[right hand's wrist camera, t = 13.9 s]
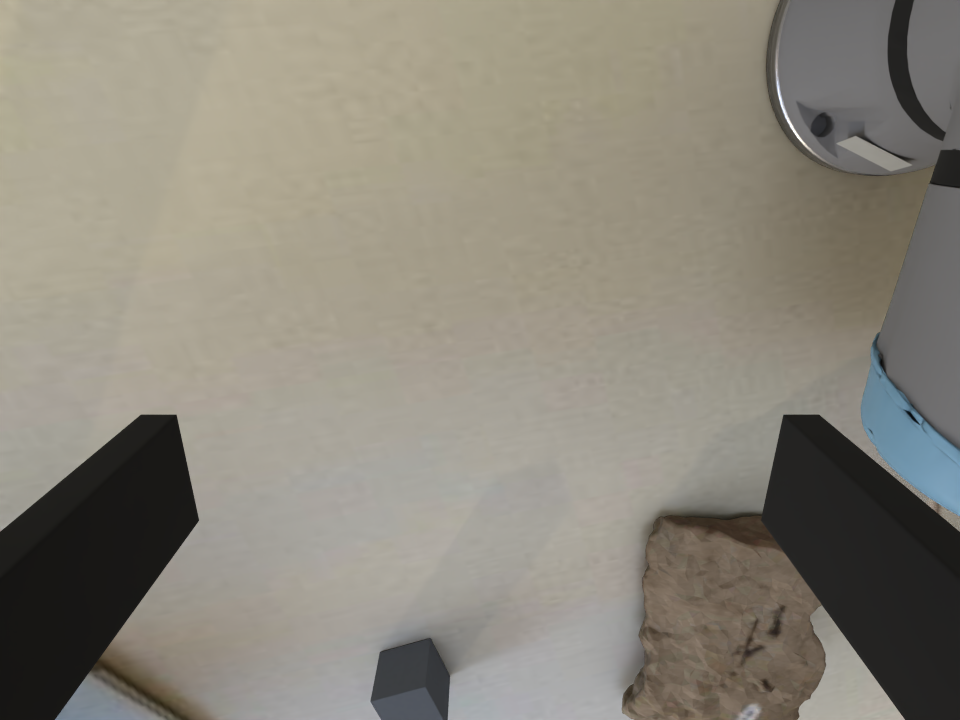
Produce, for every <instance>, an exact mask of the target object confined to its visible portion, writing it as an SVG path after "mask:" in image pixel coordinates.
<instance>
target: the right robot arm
mask: <svg viewBox="0 0 960 720" xmlns="http://www.w3.org/2000/svg"><path fill="white" fill-rule="evenodd" d="M766 71H767V84H768V90H769V96H770V100H771V104H772V107H773V110H774V112H775V115H776V118H777V120H778V122H779V124H780V126H781V128H782V129H783V131H784V132H785V134H786V135H787V137H788V138H789V139H790V141H791V142H792V143H793V144H794V145H795V146H796V147H797V148H798V149H799V150H800V151H801V152H802V153H803V154H805V155H806V156H807V157H809V158H810V159H812V160H813V161H815V162H817V163H819V164H820V165H823V166H825V167H827V168H830V169H833V170H836V171H840V172H845V173H851V174H859V175H870V176H885V175H895V174H901V173H907V172H913V171H917V170H921V169H924V168H927V167H930V166H933V165H936V166H935V169H934V172H933V175H932V179H931V181H930V183H929V185H928V188H927V191H926V194H925V197H924V200H923V203H922V206H921V210H920V213H919V216H918V219H917V222H916V225H915V228H914V231H913V234H912V238H911V241H910V244H909V247H908V250H907V253H906V256H905V259H904V262H903V266H902V269H901V272H900V275H899V278H898V281H897V284H896V287H895V290H894V294H893V297H892V300H891V303H890V306H889V309H888V311H887V314H886V317H885V320H884V323H883V326H882V329H881V332H879V333H877V335H876V337H875V339H874V341H873V344H872V347H871V366H870V371H869V375H868V379H867V383H866V387H865V391H864V394H863V398H862V403H861V419H862V423H863V427H864V429H865V431H866V433H867V435H868V437H869V439H870V440H871V442H872V443H873V444H874V445H875V446H876V448H877V451H878V453H879V454H880V455H881V457H882V458H883V459H884V460H885V461H886V462H887V463H888V464H889V465H890V466H891V467H892V468H893V469H894V470H895V471H896V472H897V473H898V474H899V475H900V476H901V477H903V478H904V479H905V480H906V481H908V482H909V483H910V484H911V485H912V486H914V487H915V488H916V489H918V490H919V491H920V492H922V493H923V494H925V495H926V496H927V497H929V498H930V499H932V500H934V501H935V502H937V503H938V504H940V505H942V506H943V507H945V508H946V509H948V510H950V511H951V512H953V513H955V514H957V515H958V516H960V0H780V3H779V6H778V8H777V11H776V13H775V17H774V20H773V24H772V27H771V32H770V37H769V42H768V50H767V66H766ZM198 521H199V518H198V513H197V509H196V504H195V499H194V495H193V490H192V485H191V481H190V476H189V471H188V466H187V462H186V457H185V452H184V448H183V443H182V438H181V434H180V429H179V424H178V420H177V415H140V416H139V417H138V418H137V419H135V420H134V421H133V422H132V423H131V424H129V425H128V426H127V427H126V428H125V429H123V430H122V431H121V432H120V433H119V434H117V435H116V436H115V437H114V438H112V439H111V440H110V441H109V442H108V443H106V444H105V445H104V446H103V447H102V448H100V449H99V450H98V451H97V452H96V453H94V454H93V455H92V456H91V457H90V458H88V459H87V460H86V461H85V462H84V463H82V464H81V465H80V466H79V467H78V468H76V469H75V470H74V471H73V472H72V473H70V474H69V475H68V476H67V477H66V478H64V479H63V480H62V481H61V482H60V483H58V484H57V485H56V486H55V487H54V488H52V489H51V490H50V491H49V492H48V493H46V494H45V495H44V496H43V497H42V498H40V499H39V500H38V501H37V502H36V503H34V504H33V505H32V506H31V507H30V508H28V509H27V510H26V511H25V512H24V513H22V514H21V515H20V516H19V517H18V518H16V519H15V520H14V521H13V522H12V523H10V524H9V525H8V526H7V527H6V528H4V529H3V530H2V531H1V532H0V720H55V719H56V717H57V716H58V715H59V713H60V712H61V710H62V709H63V708H64V706H65V705H66V704H67V702H68V701H69V699H70V698H71V697H72V695H73V694H74V693H75V691H76V690H77V688H78V687H79V686H80V684H81V683H82V681H83V680H84V679H85V677H86V676H87V675H88V673H89V672H90V670H91V669H92V668H93V666H94V665H95V664H96V662H97V661H98V659H99V658H100V657H101V655H102V654H103V652H104V651H105V650H106V648H107V647H108V646H109V644H110V643H111V641H112V640H113V639H114V637H115V636H116V635H117V633H118V632H119V630H120V629H121V628H122V626H123V625H124V623H125V622H126V621H127V619H128V618H129V617H130V615H131V614H132V612H133V611H134V610H135V608H136V607H137V606H138V604H139V603H140V601H141V600H142V599H143V597H144V596H145V594H146V593H147V592H148V590H149V589H150V588H151V586H152V585H153V583H154V582H155V581H156V579H157V578H158V577H159V575H160V574H161V572H162V571H163V570H164V568H165V567H166V565H167V564H168V563H169V561H170V560H171V559H172V557H173V556H174V554H175V553H176V552H177V550H178V549H179V548H180V546H181V545H182V543H183V542H184V541H185V539H186V538H187V536H188V535H189V534H190V532H191V531H192V530H193V528H194V527H195V525H196V524H197V523H198ZM761 521H762V523H763V524H764V525H765V527H766V528H767V530H768V531H769V532H770V534H771V535H772V536H773V538H774V539H775V541H776V542H777V543H778V545H779V546H780V548H781V549H782V550H783V552H784V553H785V554H786V556H787V557H788V559H789V560H790V561H791V563H792V564H793V565H794V567H795V568H796V570H797V571H798V572H799V574H800V575H801V577H802V578H803V579H804V581H805V582H806V583H807V585H808V586H809V588H810V589H811V590H812V592H813V593H814V594H815V596H816V597H817V599H818V600H819V601H820V603H821V604H822V606H823V607H824V608H825V610H826V611H827V612H828V614H829V615H830V617H831V618H832V619H833V621H834V622H835V623H836V625H837V626H838V628H839V629H840V630H841V632H842V633H843V635H844V636H845V637H846V639H847V640H848V641H849V643H850V644H851V646H852V647H853V648H854V650H855V651H856V652H857V654H858V655H859V657H860V658H861V659H862V661H863V662H864V664H865V665H866V666H867V668H868V669H869V670H870V672H871V673H872V675H873V676H874V677H875V679H876V680H877V681H878V683H879V684H880V686H881V687H882V688H883V690H884V691H885V693H886V694H887V695H888V697H889V698H890V699H891V701H892V702H893V704H894V705H895V706H896V708H897V709H898V710H899V712H900V713H901V715H902V716H903V717H904V719H905V720H960V532H959V531H958V530H957V529H956V528H954V527H953V526H952V525H951V524H950V523H948V522H947V521H946V520H945V519H944V518H942V517H941V516H940V515H939V514H938V513H936V512H935V511H934V510H933V509H932V508H930V507H929V506H928V505H927V504H926V503H924V502H923V501H922V500H921V499H920V498H918V497H917V496H916V495H915V494H914V493H912V492H911V491H910V490H909V489H908V488H906V487H905V486H904V485H903V484H902V483H900V482H899V481H898V480H897V479H896V478H894V477H893V476H892V475H891V474H890V473H888V472H887V471H886V470H885V469H884V468H882V467H881V466H880V465H879V464H878V463H876V462H875V461H874V460H873V459H872V458H870V457H869V456H868V455H867V454H866V453H864V452H863V451H862V450H861V449H860V448H858V447H857V446H856V445H855V444H854V443H852V442H851V441H850V440H849V439H848V438H846V437H845V436H844V435H843V434H841V433H840V432H839V431H838V430H837V429H835V428H834V427H833V426H832V425H831V424H829V423H828V422H827V421H826V420H825V419H823V418H822V417H821V416H820V415H783V420H782V424H781V429H780V434H779V438H778V443H777V448H776V452H775V457H774V462H773V466H772V471H771V476H770V481H769V485H768V490H767V495H766V499H765V504H764V509H763V513H762V518H761Z"/></svg>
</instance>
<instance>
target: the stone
mask: <svg viewBox="0 0 960 720" xmlns="http://www.w3.org/2000/svg"><path fill="white" fill-rule="evenodd" d="M761 518H762V516H756V515H754V516H751V517H746V516H745V517H739V518H735V519H730V520H721V519H716V518H697V517H686V518H683V517H680V516H666V517H659V518H658V519H656V521H655V523H654V531H653V532H652V534H651V535H650V536H649V540H648V543H647V545H646V559H647V562H648V564H649V566H648V568H647V569H646V571H645V575H644V576H643V578H642V583H643V585H642V586H643V591H644V608H645V610H646V616H645V620H644V621H643V625H642V627H641V629H640V632H639V637H640V640H641V642H642V645H643V647H644V648H645V664H644V667H643V668H642V669H641V670H640V673H639V674H638V675H637V677H636V678H635V681H634V684H633V685H631V686H629V688H628V689H627V690H626V691H625V693H624V694H623V701H622V713H623V714H625V715H627V716H628V717H630V718H631V719H634V720H797V719H798V718H799V713H798V710H799V706H800V705H801V704H802V703H803V702H804V701H805V700H808V699H810V697H811V694H812V693H813V692H814V690H815V689H816V688H817V686H818V684H819V682H820V680H821V678H822V675H823V673H824V670H825V667H826V663H825V652H824V649H823V646H822V643H821V642H820V640H819V639H818V637H817V636H816V635H815V633H814V631H813V625H812V624H811V622H810V615H811V614H812V613H813V612H814V611H815V610H816V609H817V608H818V607H819V606H821V605H822V604H821V603H820V601H819V600H818V599H817V597H816V596H815V594H814V593H813V592H812V590H811V589H810V588H809V586H808V585H807V583H806V582H805V581H804V579H803V578H802V577H801V575H800V574H799V572H798V571H797V570H796V568H795V567H794V565H793V564H792V563H791V561H790V560H789V559H788V557H787V556H786V554H785V553H784V552H783V550H782V549H781V548H780V546H779V545H778V543H777V542H776V541H775V539H774V538H773V536H772V535H771V534H770V532H769V531H768V530H767V528H766V527H765V525H764V524H763V523H762V521H761Z"/></svg>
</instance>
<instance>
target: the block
mask: <svg viewBox="0 0 960 720" xmlns="http://www.w3.org/2000/svg"><path fill="white" fill-rule="evenodd" d="M449 684H450V675H449V673H448V671H447V669H446V667H445V665H444V664H443V662H442V660H441V658H440V656H439V654H438V652H437V650H436V648H435V646H434V644H433V643H432V641H431V639H430V638H429V639H426V640H422V641H419V642H415V643H411V644H408V645H404V646H401V647H397V648H393V649H390V650H386V651H383V652H380V655H379V660H378V665H377V671H376V676H375V681H374V686H373V691H372V697H371V703H372V705H373V707H374V708H375V710H376V712H377V713H378V715H379V717H380V718H381V720H448V702H449Z"/></svg>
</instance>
